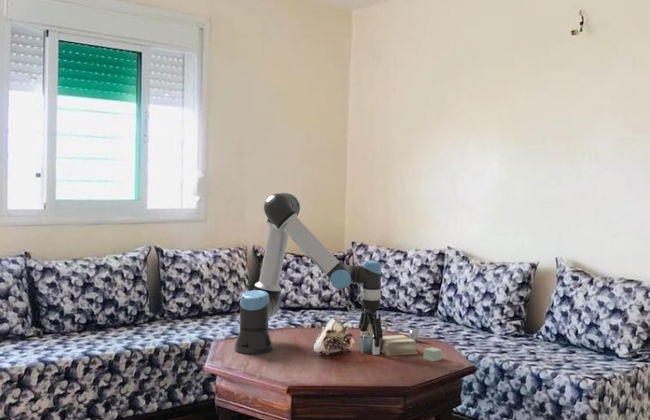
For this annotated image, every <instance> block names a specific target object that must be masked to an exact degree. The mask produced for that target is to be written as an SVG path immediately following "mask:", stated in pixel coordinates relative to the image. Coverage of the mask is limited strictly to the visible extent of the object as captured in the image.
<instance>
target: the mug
mask: <svg viewBox="0 0 650 420" xmlns="http://www.w3.org/2000/svg"><path fill="white" fill-rule="evenodd" d="M380 321H381V325H382V324H383V325H384V331H382V335H383V336H385V335H386V334H387V332H388V329H389V326H388V323H387V322H386V321H385V320H380ZM367 329H368V331H367V336H370V335H373V331H372V327H371V324H370V323H369V325H368V328H367Z"/></svg>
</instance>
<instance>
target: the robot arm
mask: <svg viewBox="0 0 650 420" xmlns="http://www.w3.org/2000/svg"><path fill="white" fill-rule="evenodd" d="M263 211H264V214H265V215H266V217H267V222H266V223H267V224H268V226H269V230H268V234H267V239H266V244H265V248H264V249H265V250H264V254H263V261H262V264H261V269H260V274H259V279H258V281H257V282H255V283H254V287H253V289H252V290H248V291H244V292H243V293H242V294H241V296H240V301H239V333H238V335H237V337H236V340H235V343H234V350H235V351H236V352H237V353H239V354H241V353H242V354H248V355H261V354H266V353H269V352H271V351H272V350H273V343H272V340H271V336H270V333H269V318H270V317H273V316H274V315H276V313H278V312H279V309H280V308H281V307H282V306H281V305H282V296H281V294H282V287H281V285H280V279H281V274H282V271H283V265H284V260H285V255H286V249H287V246H288V240H289V238H290V239H291V240H292V241H293V242H294V243H295V244H296V245H297V246H298V247H299V248H300V250H302V252H303V253H304V254H306V256H307V257H308V258H309V259H310V260H311V261H312V262H313V263H314V264H315V266H317V267H318V268H319V270H321V272H323V273H324V274H325V275H326V277H328V279H329V280H330V283H331V285H332V287H333V288H335V289H337V290H343V289H346V288H348V287H349V286H350V285H351V284H355V285H357V284H358V285H361V286H362V290H361V294H362V297H361V298H362V299H361V312H360V313H361V314H360V318H359V324H358V329H359V330H360V336H363V335H367V331H368V329H367V328H368V325H369V323H370V324H371V327H372V331H373V335H374V337H373V353H372V355H373V356H375V355H376V356H379V355H380V353H381V352H380V339H381V338H383V336H384V335H382V333H383V330H382V324H381V321H382V320H381V313H377V312H378V311H377V310H379V309H380V308H381V295H382V294H381V293H382V291H381V286H382V284H381V282H382V264H381V262H379V261H377V260H366V261H363V262H362V265H354V264H342V263H341V262H340V260H338V258H336V256H335V255H334V254H333V253H332V252H331V251H330V250H329V249H328V248H327V247H326V246H325V245H324V244H323V243H322V242H321V241H320V240H319V238H317V237H316V236H315V234H314V233H313V232H312V231H311V230H310V229H308V227H307V226H306V225H305V224H304V223H303V222H302V221H301V220H300V219H299V218H298V215H299V213H300V212H301V203H300V201H299V200H298V198H297V197H296V196H295V195H294V194H290V193H288V192H281V193H273V194H271V195H269V196H268V197H267V198H266V200H265V202H264V206H263Z"/></svg>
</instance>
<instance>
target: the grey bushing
mask: <svg viewBox="0 0 650 420" xmlns="http://www.w3.org/2000/svg"><path fill="white" fill-rule="evenodd" d="M419 333H420V332H419V330H418V329H416V328H415V329H414V328H411V329H409V334H408V338H410V339H412V340H414V341H416V343H419Z"/></svg>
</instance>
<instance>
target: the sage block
mask: <svg viewBox="0 0 650 420" xmlns="http://www.w3.org/2000/svg"><path fill="white" fill-rule="evenodd" d="M423 359H424V360H427V361H431V362H437V361H441V360H442V349H439V348H436V347H427V348H423Z"/></svg>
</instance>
